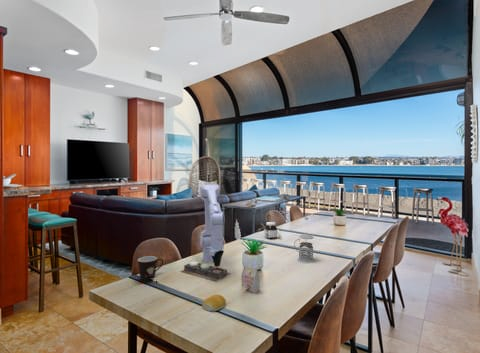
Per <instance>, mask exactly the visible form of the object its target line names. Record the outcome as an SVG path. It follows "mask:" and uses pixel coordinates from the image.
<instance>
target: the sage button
mask: <svg viewBox="0 0 480 353" xmlns="http://www.w3.org/2000/svg"><path fill="white" fill-rule="evenodd" d="M210 266H211V264H209V263H201V269H203V270H207V269H209V268H210Z"/></svg>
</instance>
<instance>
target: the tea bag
mask: <svg viewBox="0 0 480 353" xmlns="http://www.w3.org/2000/svg"><path fill="white" fill-rule="evenodd" d="M241 286H242V287H243V288H246V289H245V290H244V291H246V292H248V293H251V294H257V293H258V292H260V275H259V271H258V268H255V267H252V266H251V267H250V266H248V265H243V271H242V275H241Z"/></svg>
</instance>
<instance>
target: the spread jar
mask: <svg viewBox="0 0 480 353" xmlns="http://www.w3.org/2000/svg"><path fill="white" fill-rule="evenodd" d="M263 230H264V237H265V238H266V239H267V240H276V238H277V237H278V238H279V239H280V238H281V239H282V235H281V232H280V229H278V228H277V226H276V222H274V221H268V222H266V224H265V226H264V229H263Z"/></svg>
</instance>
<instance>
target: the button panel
mask: <svg viewBox="0 0 480 353" xmlns="http://www.w3.org/2000/svg"><path fill="white" fill-rule="evenodd" d="M201 264H202V263H200V262H198V266H196V267H191V266H189V263H187V264H185V265H183V269H182V270H180V271H179V272H180V273H182V274H187V275H190V276H194V277H197V278H201V279H205V280H209V281H212V282H214V283H215V282H218V281H220V280H222V279H224V278H226V277H228V276H229V275H231V274H232V273H230V272H228V269H226V268H225V269H224V268H221V267H215V266H213V265H210V268H209V269H207V270H203V269H201ZM214 270H221V271H222V272H220V273H215V272H213V271H214Z"/></svg>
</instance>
